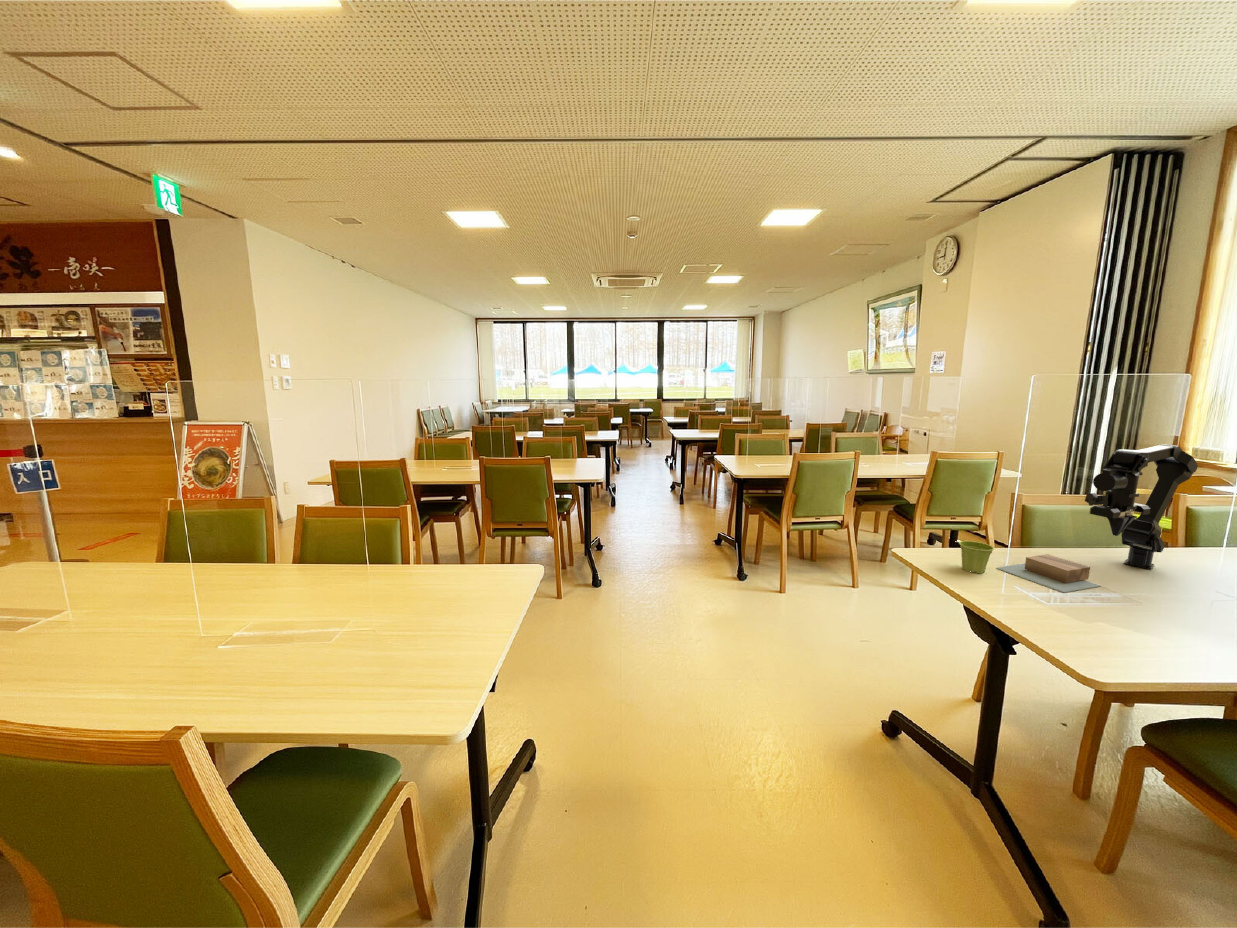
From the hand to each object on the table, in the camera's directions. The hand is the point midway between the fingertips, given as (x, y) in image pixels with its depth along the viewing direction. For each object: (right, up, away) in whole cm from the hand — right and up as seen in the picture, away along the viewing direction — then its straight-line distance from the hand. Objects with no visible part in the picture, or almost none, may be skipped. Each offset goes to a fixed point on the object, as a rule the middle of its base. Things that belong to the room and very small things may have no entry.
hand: (1115, 535), depth 161 cm
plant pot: (-45, -12, +3) cm, 47 cm away
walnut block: (-17, -10, -2) cm, 20 cm away
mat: (-26, -13, -4) cm, 29 cm away
